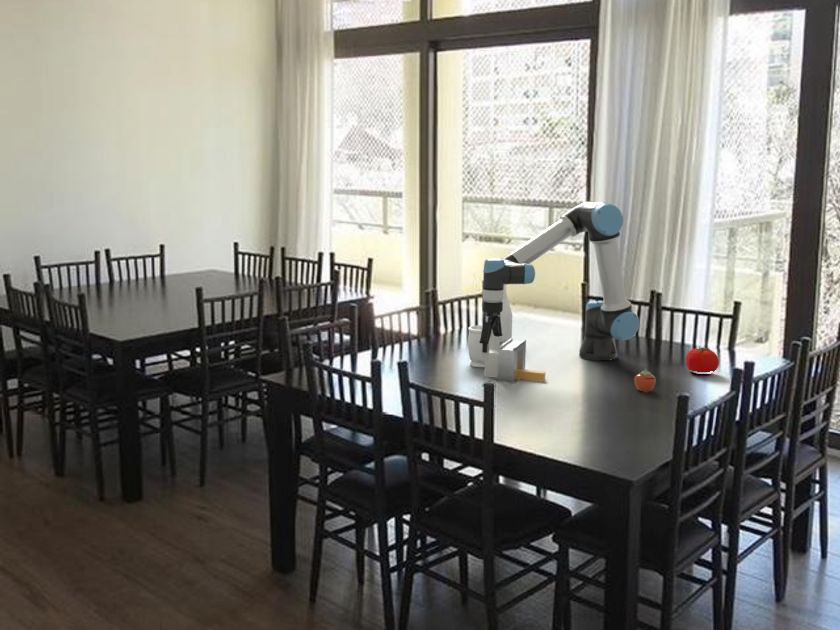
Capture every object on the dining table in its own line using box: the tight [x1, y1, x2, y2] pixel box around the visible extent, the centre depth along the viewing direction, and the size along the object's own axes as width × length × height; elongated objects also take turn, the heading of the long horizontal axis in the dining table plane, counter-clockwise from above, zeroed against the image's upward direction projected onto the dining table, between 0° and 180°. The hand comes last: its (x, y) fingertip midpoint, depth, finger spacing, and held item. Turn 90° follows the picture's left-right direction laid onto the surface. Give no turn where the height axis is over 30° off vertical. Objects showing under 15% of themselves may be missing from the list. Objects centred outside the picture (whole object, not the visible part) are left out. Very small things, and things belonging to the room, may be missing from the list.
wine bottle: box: [499, 284, 513, 344], centre depth 381 cm, size 10×10×30 cm
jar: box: [467, 324, 494, 369], centre depth 339 cm, size 11×10×15 cm
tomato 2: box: [633, 368, 657, 392], centre depth 307 cm, size 7×7×8 cm
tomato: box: [685, 345, 720, 372], centre depth 331 cm, size 11×13×10 cm
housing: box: [497, 337, 527, 384], centre depth 323 cm, size 6×16×13 cm, turn 159°
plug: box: [480, 350, 547, 382], centre depth 323 cm, size 24×5×9 cm, turn 69°
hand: (490, 357), depth 325 cm, fingers open, 13 cm apart
